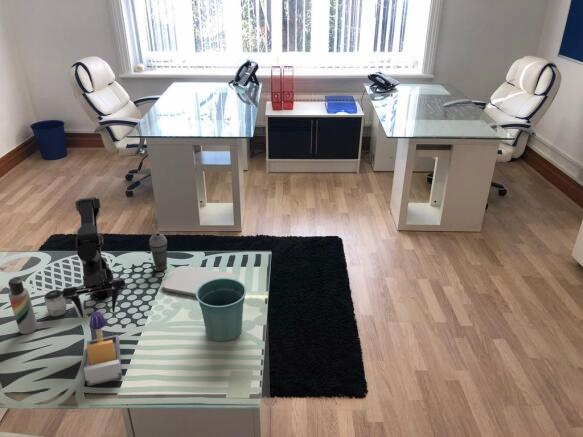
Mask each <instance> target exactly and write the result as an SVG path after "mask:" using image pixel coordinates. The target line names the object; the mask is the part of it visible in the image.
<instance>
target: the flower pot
mask: <svg viewBox="0 0 583 437" xmlns="http://www.w3.org/2000/svg"><path fill="white" fill-rule="evenodd" d="M246 295H247V287H246V285H245V284H244V283H243V282H241V281H240V280H238V279H236V280H235V279H231V278H217V279H212V280H210V281H207V282H205V283H204V284H202V285H201V286H200V287H199V288H198V289H197V291H196V296H195V297H196V300H197V301H198V304H199V307H200V309H201V312H202V320H203V323H204V328H205V333H206V335H207V337H209V339H210V340H212V341H216V342H227V341H229V340H234V339H236V338H237V337H238V336H239V335H240V334H241V332H242V330H243V329H242V328H243V317H244V316H243V314H244V312H243V311H244V304H245V297H246Z"/></svg>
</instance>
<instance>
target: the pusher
mask: <svg viewBox="0 0 583 437" xmlns="http://www.w3.org/2000/svg"><path fill="white" fill-rule="evenodd" d="M87 351H88V355H89V359H90V364H91V366H92V365H96V364H101V363H105V362H109V361H114V360H116V356H115V351H114V346H113V341H112V340H109V341H104V342H100V343H95V344H90V345H87V344H86V352H87Z"/></svg>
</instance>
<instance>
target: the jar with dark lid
mask: <svg viewBox="0 0 583 437" xmlns="http://www.w3.org/2000/svg"><path fill="white" fill-rule="evenodd" d="M62 291H63V290H59V289H54V290H50V291H48V292H47V293H45V294H44V296H43V299H44V303H45V307H46V311H47V312H48V313H47V314H49V316H51V317H59V316H61V315H64V314H65V313H66V312H67V303H66V301H67V300H65V299H64V298H63V295H62Z"/></svg>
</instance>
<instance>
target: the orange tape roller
mask: <svg viewBox="0 0 583 437" xmlns="http://www.w3.org/2000/svg"><path fill="white" fill-rule="evenodd" d="M109 340H112V341H113V346H114V351H115V356H116V360H114V361H109V362H105V363H101V364H96V365H92V366H91V364H90V359H89V355H88V351H87V350H86V366H84V367H83V372H84V378H85V380H86V386H87V387H91V386H95V385H99V384H103V383H107V382H108V383H109V382H111V381H115V379H116V380H119V379H118V378H120V379H123V374H122V360H121V358H120V357H121V347H120V338H119V334H115V335H110V336H105V337H104V336H103V342H104V341H109ZM95 343H98V341H97V338H96V339H91V340H86V346H87V345H90V344H95Z"/></svg>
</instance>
